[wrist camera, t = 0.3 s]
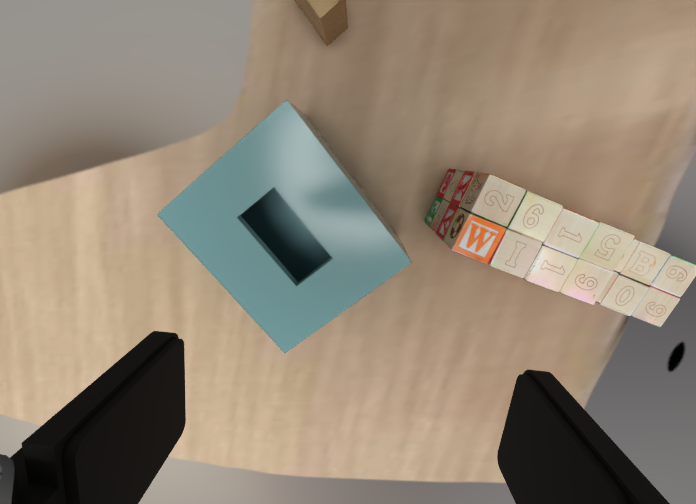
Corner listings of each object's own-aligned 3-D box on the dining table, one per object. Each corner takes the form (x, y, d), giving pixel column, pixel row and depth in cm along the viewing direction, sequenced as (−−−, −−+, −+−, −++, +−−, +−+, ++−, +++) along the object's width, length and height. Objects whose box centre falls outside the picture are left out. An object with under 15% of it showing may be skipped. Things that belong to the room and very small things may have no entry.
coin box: (305, 115, 36) (286, 99, 26) (398, 236, 39) (411, 262, 29) (206, 200, 38) (156, 214, 29) (301, 307, 41) (284, 353, 32)
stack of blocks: (623, 242, 39) (742, 280, 27) (592, 291, 40) (691, 348, 28) (447, 167, 37) (490, 172, 25) (422, 222, 39) (451, 250, 27)
